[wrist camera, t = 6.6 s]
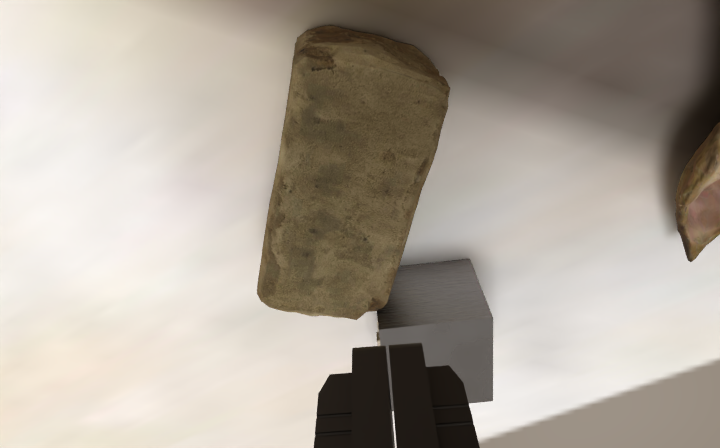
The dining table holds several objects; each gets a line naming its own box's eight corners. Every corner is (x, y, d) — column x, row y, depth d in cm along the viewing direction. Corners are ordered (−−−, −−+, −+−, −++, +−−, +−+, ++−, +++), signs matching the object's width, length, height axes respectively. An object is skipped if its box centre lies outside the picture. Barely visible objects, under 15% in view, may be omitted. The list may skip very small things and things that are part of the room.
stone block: (266, 255, 27) (250, 316, 22) (301, 13, 22) (289, 29, 17) (379, 273, 28) (386, 336, 23) (440, 43, 22) (463, 66, 18)
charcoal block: (469, 257, 27) (492, 317, 23) (471, 333, 30) (492, 400, 25) (370, 268, 27) (375, 330, 23) (380, 342, 30) (385, 411, 25)
